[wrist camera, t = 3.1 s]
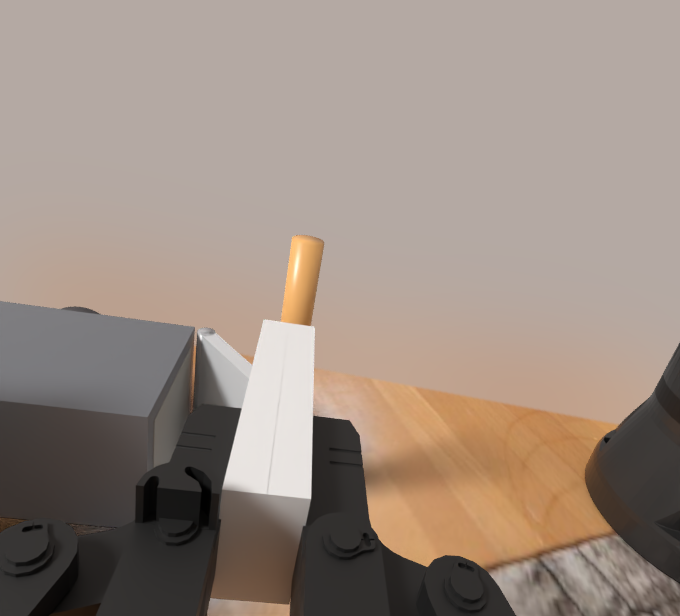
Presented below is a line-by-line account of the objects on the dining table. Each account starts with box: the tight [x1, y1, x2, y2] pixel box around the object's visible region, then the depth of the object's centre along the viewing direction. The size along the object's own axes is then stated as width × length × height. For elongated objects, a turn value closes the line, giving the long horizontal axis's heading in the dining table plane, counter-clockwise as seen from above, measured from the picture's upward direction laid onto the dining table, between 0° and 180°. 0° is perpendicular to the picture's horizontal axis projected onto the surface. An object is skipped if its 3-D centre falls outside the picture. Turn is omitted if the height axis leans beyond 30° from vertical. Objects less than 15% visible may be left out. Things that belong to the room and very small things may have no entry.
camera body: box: [0, 301, 195, 528], centre depth 31 cm, size 14×12×9 cm
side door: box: [193, 235, 324, 411], centre depth 30 cm, size 2×11×17 cm, turn 42°
